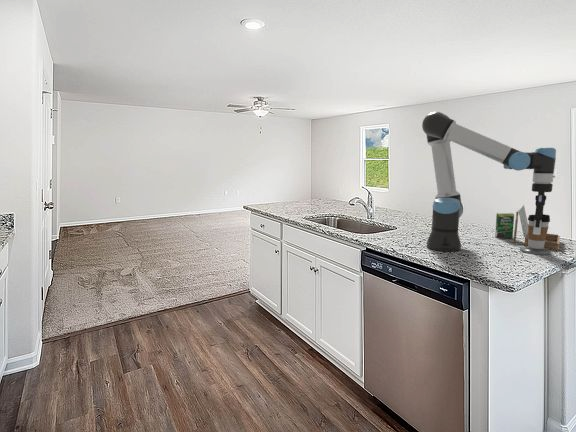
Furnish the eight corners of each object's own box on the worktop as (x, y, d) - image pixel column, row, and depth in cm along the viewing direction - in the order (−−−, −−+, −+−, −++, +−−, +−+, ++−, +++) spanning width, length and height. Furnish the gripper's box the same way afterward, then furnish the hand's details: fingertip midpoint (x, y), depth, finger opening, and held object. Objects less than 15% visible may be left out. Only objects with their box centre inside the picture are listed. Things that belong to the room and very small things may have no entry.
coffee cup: (550, 249, 164) (554, 216, 161) (529, 249, 165) (533, 216, 163) (541, 245, 172) (545, 213, 169) (521, 244, 173) (525, 213, 171)
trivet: (542, 256, 161) (542, 254, 161) (514, 250, 171) (514, 249, 171) (556, 252, 167) (556, 251, 167) (528, 247, 177) (528, 245, 177)
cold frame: (558, 250, 171) (563, 212, 168) (512, 244, 182) (515, 209, 179) (559, 241, 188) (563, 207, 185) (516, 236, 199) (519, 204, 196)
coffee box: (496, 237, 197) (498, 213, 195) (494, 236, 200) (496, 212, 198) (512, 238, 196) (515, 214, 193) (510, 237, 198) (513, 213, 196)
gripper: (552, 184, 153) (546, 237, 157) (553, 181, 170) (547, 229, 174) (530, 183, 158) (525, 235, 161) (533, 181, 174) (529, 228, 178)
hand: (537, 232), depth 167 cm, fingers closed on coffee cup, 8 cm apart
